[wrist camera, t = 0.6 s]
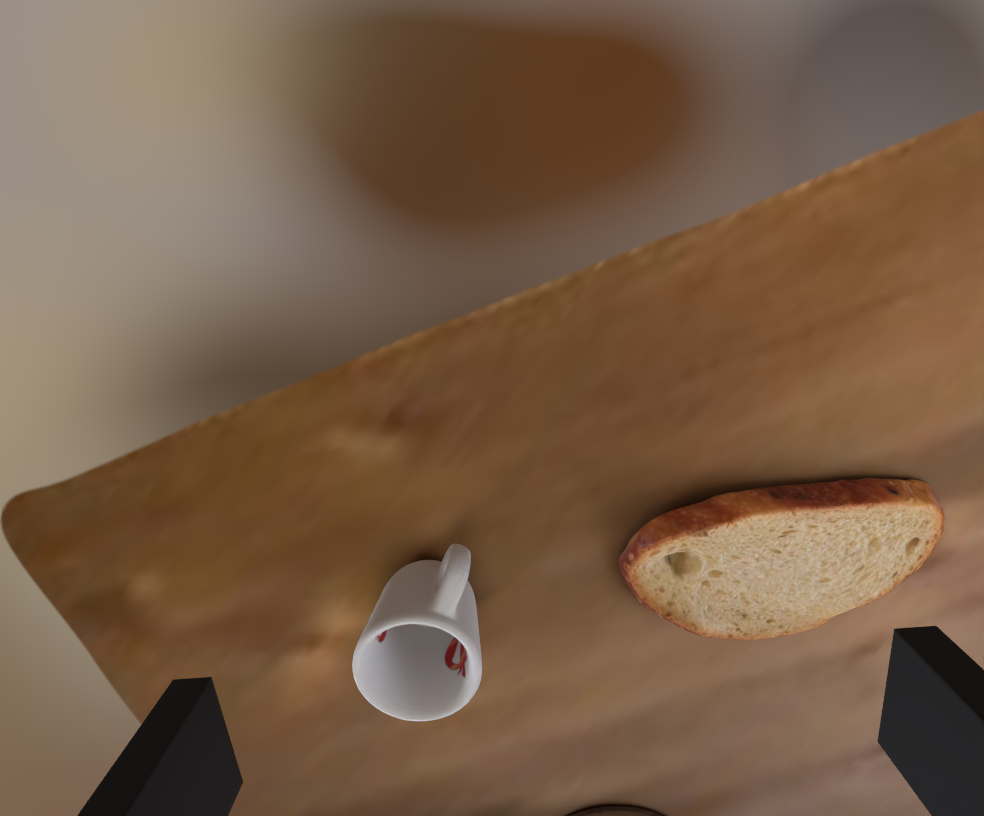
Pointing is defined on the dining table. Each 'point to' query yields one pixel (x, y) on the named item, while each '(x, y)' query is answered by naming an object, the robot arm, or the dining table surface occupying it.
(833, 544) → the bread slice
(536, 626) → the dining table surface
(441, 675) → the cup
